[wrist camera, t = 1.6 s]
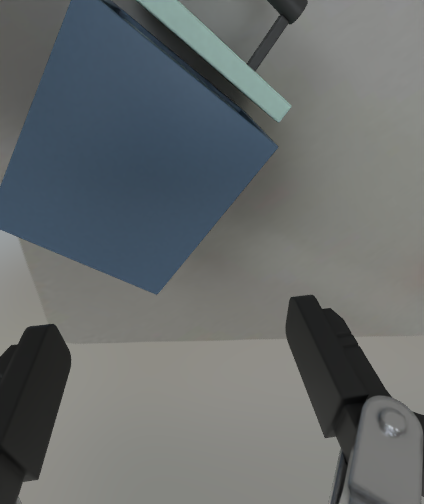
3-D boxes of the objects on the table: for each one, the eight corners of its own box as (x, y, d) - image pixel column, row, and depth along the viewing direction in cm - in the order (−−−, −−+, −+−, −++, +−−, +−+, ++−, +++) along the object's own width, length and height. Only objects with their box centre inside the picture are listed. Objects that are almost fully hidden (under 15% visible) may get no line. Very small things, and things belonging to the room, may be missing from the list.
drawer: (171, -116, 18) (173, -198, 11) (302, 29, 22) (354, 28, 16) (55, 145, 25) (17, 182, 19) (171, 211, 30) (172, 258, 24)
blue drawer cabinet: (111, 0, 21) (77, -18, 13) (246, 113, 26) (279, 147, 19) (37, 169, 27) (-15, 223, 19) (159, 232, 32) (157, 295, 25)
